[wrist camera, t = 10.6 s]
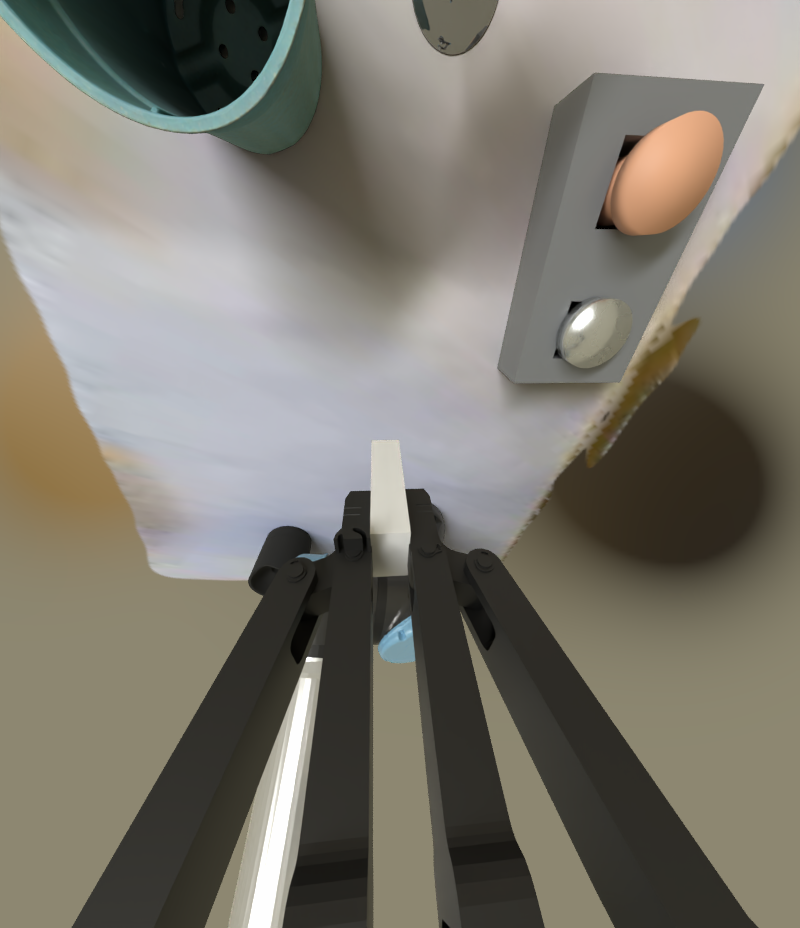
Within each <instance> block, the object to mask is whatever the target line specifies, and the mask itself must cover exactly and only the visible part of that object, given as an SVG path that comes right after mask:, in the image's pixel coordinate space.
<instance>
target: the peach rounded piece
mask: <svg viewBox="0 0 800 928" xmlns="http://www.w3.org/2000/svg"><path fill="white" fill-rule="evenodd" d="M723 145H724V138H723V131H722V127H721V124H720V122H719V121H718V119H717V118H716V117H715V116H714V115H713V114H711V113H709V112H707V111H693V112H689V113H686V114H684V115H681V116H679V117H677V118H675V119H673V120H670V121H668V122H666V123H664V124H662V125H659V126H658V127H656V128H654V129H653V130H651V131H650V132H649V133H647V134H646V135H645V136H644V137H643V138H642V139H641V140H640V141H639V142H638V143H637V144H636V145H635V146H634V148H633V149H632V150H631V151H630V153H629V154H628V155H626V156H623V157H621V158H618V160H617V163H616V166H615V169H614V172H613V175H612V178H611V181H610V184H609V187H608V190H607V193H606V197H605V200H604V203H603V206H602V209H601V212H600V215H599V218H598V221H597V225H599V226H609V225H615V226H616V227H617V229H618V230H619V231H620V232H622V233H624V234H626V235H631V236H637V235H651V234H658V233H662V232H664V231H667V230H669V229H671V228H673V227H674V226H676V225H677V224H679V223H680V222H681V221H682V220H684V219H685V218H686V217H687V216H688V215H689V214H690V213H691V212H692V211H693V210H694V209H695V208H696V207H697V205H698V204H699V203H700V202H701V200H702V199H703V197H704V196H705V194H706V193H707V191H708V190H709V188H710V186H711V184H712V182H713V180H714V178H715V176H716V174H717V171H718V168H719V165H720V162H721V158H722V153H723Z"/></svg>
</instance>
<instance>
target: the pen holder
mask: <svg viewBox="0 0 800 928" xmlns="http://www.w3.org/2000/svg"><path fill="white" fill-rule="evenodd" d="M310 548H311V539H310V537H309V536H308V534H307V533H306V532H305V531H303V530H301V529H299V528H296V527H291V526H283V527H279V528H276V529H274V530H272V531H271V532H270V533H269V534H268V536H267V538H266V541H265V543H264V545H263V547H262V549H261V552H260V554H259V556H258V559H257V561H256V563H255V565H254V568H253V570H252V572H251V575H250V577H249V580H248V583H249V586H250V587H251V589H252V590H254V591H255V592H257V593H258V594H260V595H263V596H264V595H265V593H266V591H267V589H268V588H269V586H270V584H271V582H272V581H273V579H274V577H275V576H276V574H277V572H278V570H279V569H280V568H281V567H282V565H283V564H284V563H286V562H287V561H289V560H290V559H294V558H296V557H297V556H299V555H301V554H310Z"/></svg>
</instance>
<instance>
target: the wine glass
mask: <svg viewBox="0 0 800 928" xmlns="http://www.w3.org/2000/svg"><path fill="white" fill-rule="evenodd" d="M412 1H413V6H414V11H415V15H416V18H417V21H418V24H419V26H420V28H421V30H422V33H423V34H424V36H425V37H426V39H427V40H428V42H429V43H430V44H431V45H432V46H433V47H434V48H435V49H437V50H438V51H440V52H441V53H444V54H447V55H457V54H461V53H464V52H466V51H467V50H469V49H471V48H472V47H473V46H474V45H475V44H476V43H477V42H478V41H479V40H480V38H481V37H482V36H483V34H484V33H485V31H486V29H487V28H488V26H489V24H490V22H491V19H492V17H493V15H494V12H495V8H496V5H497V2H498V0H412Z"/></svg>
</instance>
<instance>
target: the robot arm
mask: <svg viewBox="0 0 800 928" xmlns="http://www.w3.org/2000/svg"><path fill="white" fill-rule="evenodd" d="M343 515H344V516H343V522H342V529H340V530H339V531H338V532H337V533H336V535H335V537H334V545H335V551H334V552H333V553H332V554H330V555H328V554H327V553H325V554H324V555H321V554H301V555H299V556H297V557H296V558H294V559H290V560H289V561H287V562H286V563H284V564H283V565H282V567H281V568H280V569H279V570H278V572H277V574H276V576H275V577H274V579H273V581H272V582H271V584H270V586H269V588H268V589H267V591H266V593H265V595H264V596H263V598H262V600H261V602H260V603H259V605H258V607H257V608H256V610H255V612H254V614H253V615H252V617H251V619H250V620H249V622H248V624H247V626H246V627H245V629H244V631H243V633H242V634H241V636H240V638H239V640H238V641H237V643H236V645H235V646H234V648H233V650H232V652H231V654H230V655H229V657H228V659H227V661H226V662H225V664H224V665H223V667H222V669H221V671H220V672H219V674H218V676H217V678H216V679H215V681H214V683H213V685H212V686H211V688H210V690H209V691H208V693H207V695H206V696H205V698H204V700H203V702H202V703H201V705H200V707H199V709H198V710H197V712H196V714H195V716H194V717H193V719H192V721H191V722H190V724H189V726H188V728H187V729H186V731H185V733H184V734H183V736H182V738H181V740H180V741H179V743H178V745H177V747H176V748H175V750H174V752H173V753H172V755H171V757H170V759H169V760H168V762H167V764H166V766H165V767H164V769H163V771H162V773H161V774H160V776H159V778H158V779H157V781H156V783H155V785H154V786H153V788H152V790H151V792H150V793H149V795H148V797H147V799H146V800H145V802H144V804H143V805H142V807H141V809H140V810H139V812H138V814H137V816H136V817H135V819H134V821H133V822H132V824H131V826H130V828H129V830H128V831H127V833H126V835H125V836H124V838H123V840H122V841H121V843H120V845H119V847H118V848H117V850H116V852H115V854H114V855H113V857H112V859H111V861H110V862H109V864H108V866H107V867H106V869H105V871H104V873H103V874H102V876H101V878H100V879H99V881H98V883H97V885H96V886H95V888H94V890H93V892H92V893H91V895H90V897H89V898H88V900H87V902H86V904H85V905H84V907H83V909H82V911H81V912H80V914H79V916H78V918H77V919H76V921H75V923H74V925H73V926H72V928H204V927H205V925H206V922H207V919H208V917H209V913H210V911H211V909H212V906H213V904H214V901H215V898H216V896H217V893H218V890H219V888H220V885H221V882H222V880H223V877H224V875H225V872H226V869H227V867H228V864H229V862H230V859H231V856H232V853H233V851H234V848H235V846H236V843H237V840H238V838H239V835H240V833H241V830H242V827H243V825H244V822H245V819H246V817H247V814H248V812H249V809H250V806H251V804H252V801H253V798H254V796H255V793H256V796H255V801H254V805H253V810H252V815H251V820H250V825H249V829H248V834H247V838H246V843H245V848H244V853H243V858H242V862H241V867H240V872H239V877H238V882H237V886H236V891H235V896H234V901H233V905H232V910H231V915H230V919H229V925H228V928H373V645H378V651H379V653H380V656H381V658H382V659H384V660H385V661H390V662H391V663H407V662H412V661H416V672H417V682H418V692H419V702H420V711H421V723H422V733H423V743H424V753H425V762H426V774H427V784H428V793H429V804H430V814H431V824H432V834H433V846H434V875H435V888H436V899H437V909H438V920H439V928H545V927H544V923H543V919H542V915H541V911H540V908H539V904H538V900H537V896H536V892H535V889H534V885H533V881H532V878H531V875H530V872H529V869H528V866H527V863H526V861H525V858H524V856H523V854H522V852H521V850H520V848H519V846H518V844H517V842H516V839H515V837H514V833H513V831H512V827H511V823H510V820H509V815H508V812H507V807H506V803H505V799H504V794H503V790H502V786H501V782H500V777H499V773H498V769H497V765H496V761H495V756H494V752H493V748H492V744H491V739H490V735H489V731H488V727H487V723H486V719H485V714H484V710H483V706H482V702H481V698H480V693H479V689H478V685H477V681H476V676H475V672H474V668H473V664H472V660H471V655H470V651H469V647H468V643H467V639H466V635H465V630H464V626H463V622H462V617H461V614H460V611H461V613H462V615H463V618H464V620H465V622H466V624H467V626H468V628H469V630H470V632H471V634H472V636H473V638H474V640H475V642H476V644H477V646H478V649H479V650H480V653H481V655H482V657H483V659H484V661H485V663H486V665H487V667H488V669H489V671H490V673H491V675H492V677H493V679H494V681H495V684H496V686H497V688H498V690H499V692H500V694H501V696H502V698H503V700H504V702H505V704H506V706H507V708H508V710H509V713H510V714H511V717H512V719H513V721H514V723H515V725H516V727H517V729H518V731H519V733H520V735H521V737H522V739H523V741H524V743H525V746H526V747H527V750H528V752H529V754H530V756H531V758H532V760H533V762H534V764H535V766H536V768H537V770H538V772H539V774H540V776H541V779H542V781H543V783H544V785H545V787H546V789H547V791H548V793H549V795H550V797H551V799H552V801H553V803H554V805H555V807H556V810H557V811H558V813H559V816H560V818H561V820H562V822H563V824H564V826H565V828H566V830H567V832H568V834H569V836H570V838H571V840H572V843H573V845H574V847H575V849H576V851H577V853H578V855H579V857H580V859H581V861H582V863H583V865H584V867H585V869H586V871H587V873H588V875H589V878H590V880H591V882H592V883H593V886H594V888H595V890H596V892H597V894H598V896H599V898H600V900H601V901H602V904H603V905H604V907H605V909H606V911H607V913H608V915H609V917H610V919H611V921H612V923H613V925H614V927H615V928H758V927H757V926H756V925H755V924H754V922H753V921H751V919H750V918H749V917H748V916H747V914H746V913H745V912H744V910H743V909H742V907H741V906H740V904H739V903H738V901H737V900H736V899H735V897H734V896H733V895H732V893H731V892H730V890H729V889H728V887H727V886H726V884H725V883H724V881H723V880H722V879H721V877H720V876H719V874H718V873H717V871H716V870H715V868H714V867H713V866H712V864H711V863H710V861H709V860H708V858H707V857H706V856H705V854H704V853H703V851H702V850H701V848H700V847H699V845H698V844H697V843H696V841H695V840H694V838H693V837H692V835H691V834H690V833H689V831H688V830H687V828H686V827H685V825H684V824H683V822H682V821H681V820H680V818H679V817H678V815H677V814H676V813H675V811H674V809H673V808H672V807H671V805H670V804H669V802H668V801H667V800H666V798H665V796H664V795H663V794H662V792H661V791H660V789H659V788H658V786H657V785H656V784H655V782H654V781H653V779H652V778H651V776H650V775H649V773H648V772H647V771H646V769H645V768H644V766H643V765H642V763H641V762H640V761H639V759H638V758H637V756H636V755H635V753H634V752H633V750H632V749H631V748H630V746H629V745H628V743H627V742H626V740H625V739H624V738H623V736H622V735H621V733H620V732H619V730H618V729H617V727H616V726H615V725H614V723H613V722H612V720H611V719H610V717H609V716H608V714H607V713H606V712H605V710H604V709H603V707H602V706H601V704H600V703H599V702H598V700H597V699H596V697H595V696H594V694H593V693H592V692H591V690H590V689H589V687H588V686H587V684H586V683H585V681H584V680H583V679H582V677H581V676H580V674H579V673H578V671H577V670H576V669H575V667H574V666H573V664H572V663H571V661H570V660H569V658H568V657H567V656H566V654H565V653H564V651H563V650H562V648H561V647H560V645H559V644H558V643H557V641H556V640H555V638H554V637H553V635H552V634H551V633H550V631H549V630H548V628H547V627H546V625H545V624H544V622H543V621H542V620H541V618H540V617H539V615H538V614H537V612H536V611H535V609H534V608H533V607H532V605H531V604H530V602H529V601H528V600H527V598H526V597H525V595H524V594H523V592H522V591H521V589H520V588H519V587H518V585H517V584H516V582H515V581H514V579H513V578H512V576H511V575H510V574H509V572H508V571H507V569H506V568H505V566H504V565H503V563H502V562H501V561H500V559H499V558H498V557H497V556H496V555H495V554H494V553H492V552H490V551H489V550H485V549H474V550H472V551H470V552H469V554H464V553H460V552H456V551H453V550H451V549H449V548H447V547H446V546H445V545H444V544H443V539H444V532H445V526H444V521H443V517H442V514H441V512H440V511H439V510H438V509H437V508H436V507H435V506H434V505H433V504H431V500H430V496H429V495H428V493H427V492H426V491H425V490H424V489H405V484H404V476H403V469H402V461H401V454H400V446H399V440H372V449H371V491H351V492H350V493H349V494H348V496H347V497H346V499H345V506H344V514H343Z"/></svg>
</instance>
